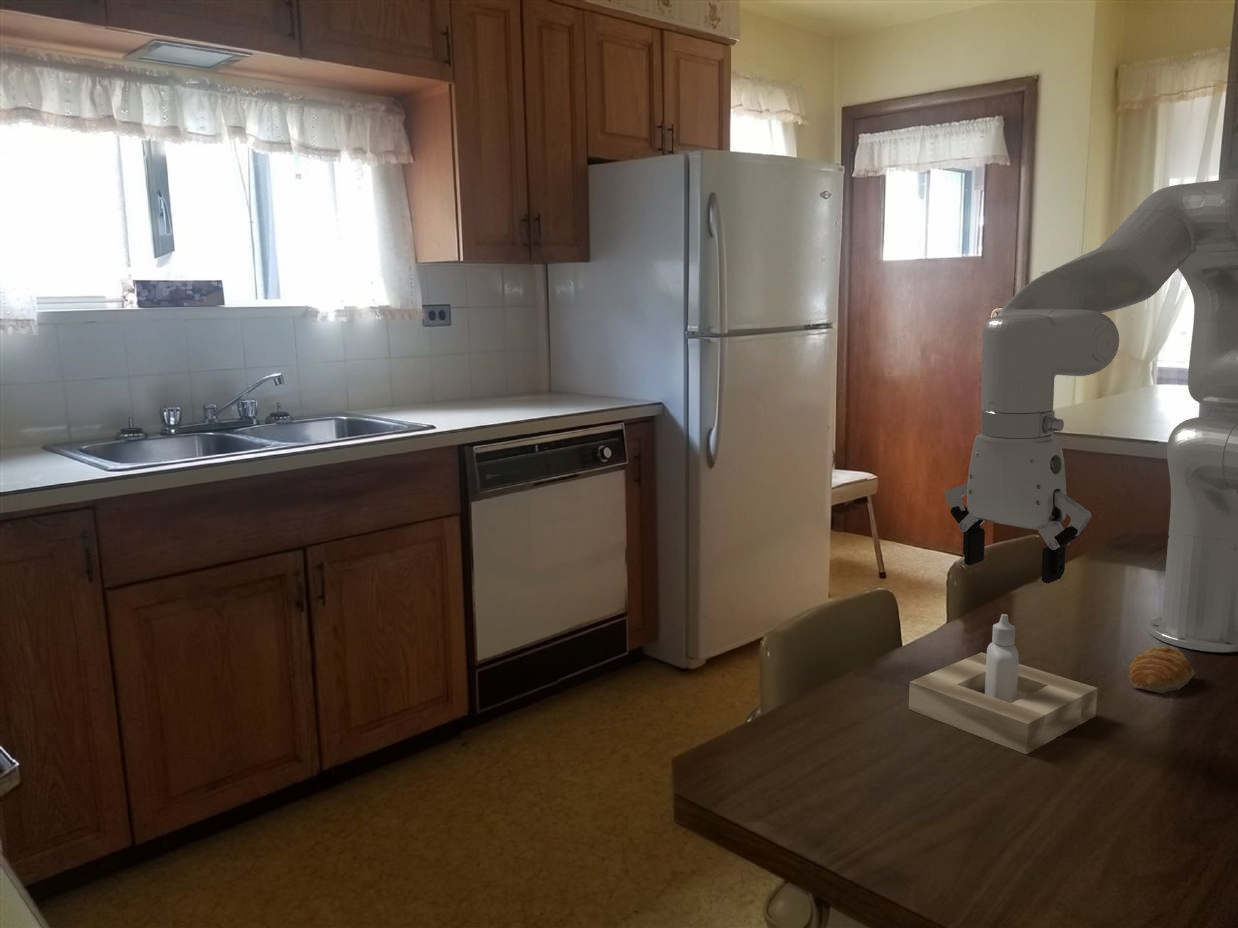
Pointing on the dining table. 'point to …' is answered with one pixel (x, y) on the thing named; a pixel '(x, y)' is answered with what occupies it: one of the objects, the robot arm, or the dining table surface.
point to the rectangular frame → (1003, 704)
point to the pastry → (1160, 670)
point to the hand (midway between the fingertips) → (1011, 571)
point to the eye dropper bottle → (1002, 662)
